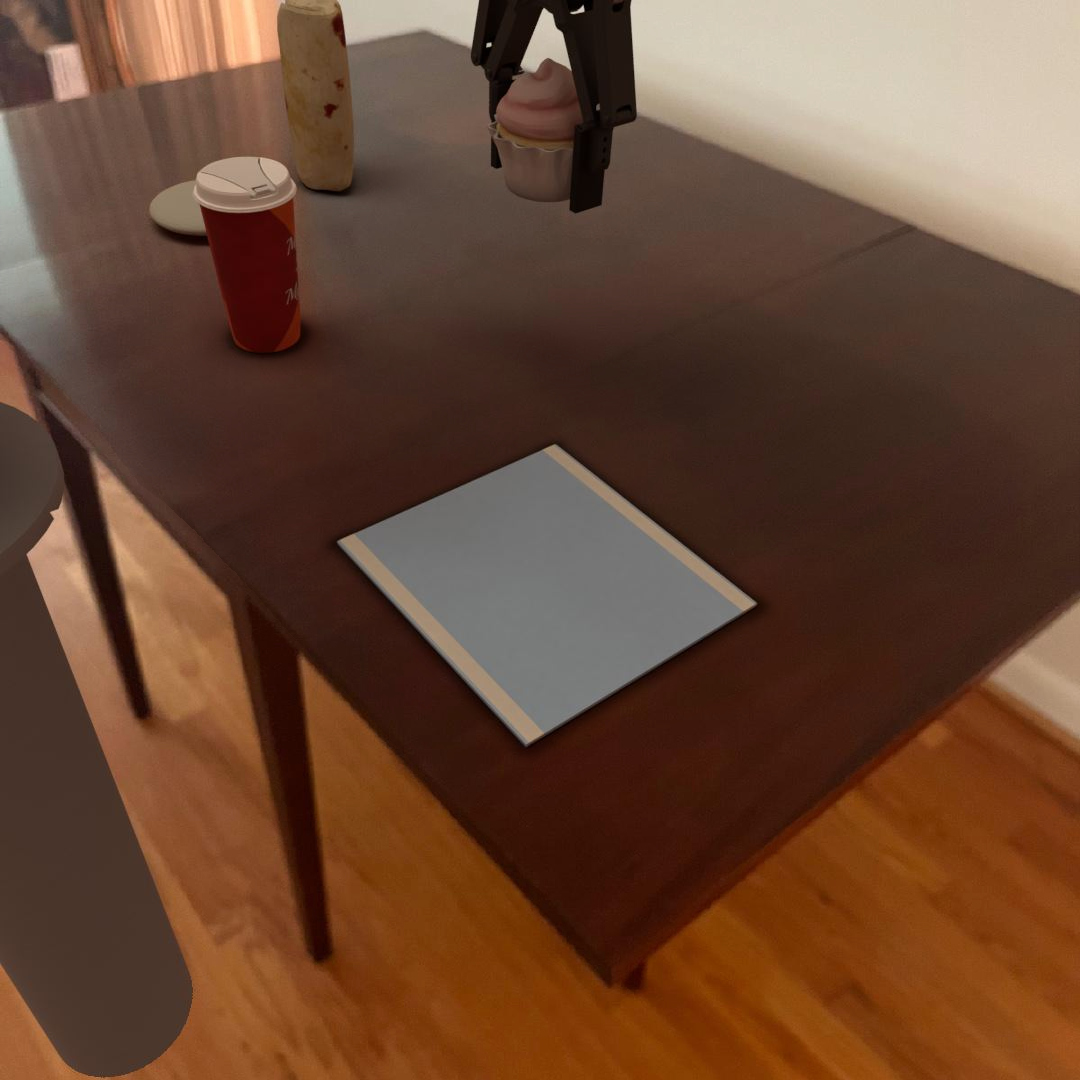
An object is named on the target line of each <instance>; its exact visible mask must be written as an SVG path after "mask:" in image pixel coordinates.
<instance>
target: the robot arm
mask: <svg viewBox="0 0 1080 1080" xmlns="http://www.w3.org/2000/svg"><path fill="white" fill-rule="evenodd" d="M632 1H633V0H478V3H477V9H476V10H477V12H476V17H475V22H474V23H475V24H474V29H473V37H472V44H471V50H470V60H471V61H470V62H471V63H472V65H473V66H475V67H481V68H482V70H484V77H485V79H486V80H487V82H488V115H489V116H488V117H489V120H490V123H493V122H495V121H496V120H495V117H494V115H495V114H496V110H497V106H498V104H499V102H500V101H501V99H502V98H503V97H504V96H505V95H506V94H507V92H508V90H509V89H510V87H511V85H512V83H513V82H514V81H515V80H516V79H517V78H514V79H513V77H516V76H522V75H524V74H525V70H524V69H523V67H522V66H521V65H522V62H523V60H524V58H525V55H526V54H527V53H526V52H527V50H528V48H529V46H530V43H531V40H532V37H533V35H534V32H535V31H536V27H537V25H538V24H539V21H540V18H541V16H542V13H543V10H545V11H547V13H549V14H552V17H553V18H552V19H553V22H554V25H555V28H556V29H557V30H558V31H560V32H561V33H562V36H563V41H564V45H565V49H566V53H567V58H568V62H569V67H570V70H571V71H572V75H573V79H574V84H575V88H576V92H577V97H578V101H579V105H580V110H581V114H582V118H583V122H584V123H581V124H578V125H575V128H574V144H573V159H572V175H571V190H570V199H569V207H568V211H569V212H571V213H573V214H575V215H576V214H579V213H582V212H585V211H589V210H591V209H594V208H597V207H600V206H602V205H603V196H604V195H603V194H604V185H605V184H604V183H605V173H606V172H605V171H606V170H608V169H609V167H610V164H611V157H612V156H611V155H612V146H613V134H614V129H615V128H616V127H621V126H624V125H627V124H630V123H634V122H635V121H636V120H637V117H638V110H637V109H638V107H637V94H636V77H635V76H636V75H635V59H634V58H635V57H634V43H633V42H634V41H633V29H632V28H633V26H632V11H631V10H632V7H631V6H632ZM582 7H583V11H581V12H578V11H579V10H580V9H582ZM575 12H576V13H575ZM488 44H491V45H490V46H488ZM598 105H599V109H597V107H598ZM490 167H491V168H493V169H495V170H498V169H501V168H502V164H501V160H500V156H499V152H498V149H497V146H496V144H495V142H494V140H493V138H492V136H491V135H490Z"/></svg>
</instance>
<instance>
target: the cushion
mask: <svg viewBox="0 0 1080 1080" xmlns="http://www.w3.org/2000/svg"><path fill="white" fill-rule="evenodd" d="M195 185H196V179H193V180H188V181H185V182H181V183H177V184H175V185H173V186H170V187H168V188H166V189H164V190H162V191H161V192H159V193H158V194H157V195H156V196H155V197H153V199H152V201H151V202H150V204H149V208H148V209H149V210H148V212H149V216H150V218H151V219H152V220H153V221H154V223H155V224H157V225H159V226H160V227H162V228H163V229H165V230H168V231H170V232H173V233H177V234H182V235H187V236H188V235H189V236H199V237H204V236H205V237H206V236H207V233H206V228H205V224H204V220H203V216H202V212H201V208H200V204H199V203H198V202H197V201H196V200H195V199H194V197H193V190H194V187H195Z"/></svg>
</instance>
